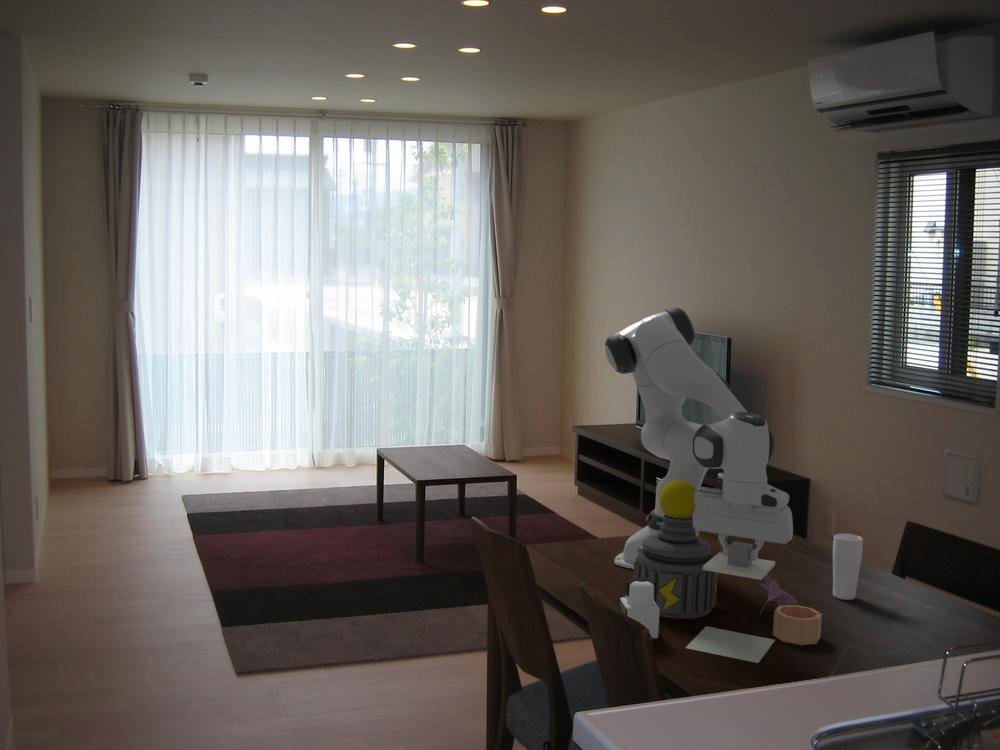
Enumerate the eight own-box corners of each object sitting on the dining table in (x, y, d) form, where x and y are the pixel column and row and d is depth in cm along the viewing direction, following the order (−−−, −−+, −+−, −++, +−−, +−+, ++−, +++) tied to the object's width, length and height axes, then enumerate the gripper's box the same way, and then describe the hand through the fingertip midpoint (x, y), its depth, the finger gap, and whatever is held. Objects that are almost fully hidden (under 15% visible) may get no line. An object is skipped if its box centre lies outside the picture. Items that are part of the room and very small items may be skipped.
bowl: (769, 641, 222) (771, 614, 222) (779, 628, 230) (780, 602, 230) (814, 650, 218) (816, 622, 217) (822, 636, 226) (824, 610, 226)
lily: (794, 630, 233) (812, 591, 235) (746, 605, 235) (763, 566, 236) (782, 628, 245) (799, 591, 246) (736, 605, 246) (753, 568, 248)
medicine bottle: (618, 628, 227) (620, 574, 226) (650, 628, 228) (653, 575, 226) (624, 640, 220) (627, 585, 218) (658, 640, 220) (661, 585, 219)
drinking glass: (860, 603, 250) (865, 541, 249) (830, 600, 252) (835, 539, 250) (856, 594, 257) (861, 534, 255) (827, 591, 258) (832, 532, 257)
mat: (685, 650, 215) (685, 647, 215) (705, 628, 229) (706, 626, 229) (758, 665, 209) (758, 662, 208) (775, 642, 222) (775, 639, 222)
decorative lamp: (717, 600, 248) (725, 476, 245) (711, 626, 230) (719, 493, 227) (638, 591, 253) (644, 469, 250) (626, 616, 235) (632, 485, 232)
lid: (702, 569, 215) (704, 546, 214) (718, 555, 225) (720, 534, 225) (761, 579, 209) (762, 556, 209) (775, 565, 220) (776, 542, 219)
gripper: (690, 488, 217) (686, 553, 219) (790, 501, 208) (785, 569, 210) (699, 482, 223) (695, 546, 224) (797, 495, 214) (792, 561, 215)
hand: (740, 557), depth 217 cm, fingers closed on lid, 4 cm apart
